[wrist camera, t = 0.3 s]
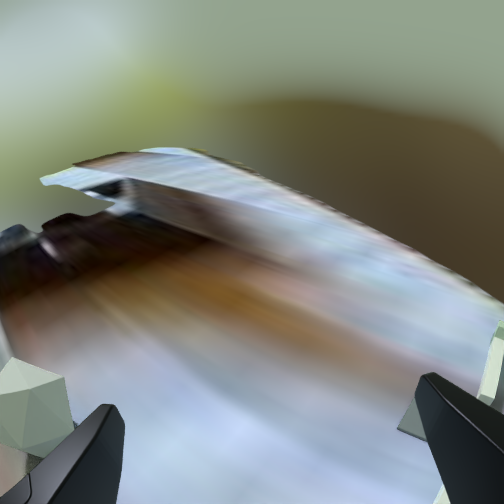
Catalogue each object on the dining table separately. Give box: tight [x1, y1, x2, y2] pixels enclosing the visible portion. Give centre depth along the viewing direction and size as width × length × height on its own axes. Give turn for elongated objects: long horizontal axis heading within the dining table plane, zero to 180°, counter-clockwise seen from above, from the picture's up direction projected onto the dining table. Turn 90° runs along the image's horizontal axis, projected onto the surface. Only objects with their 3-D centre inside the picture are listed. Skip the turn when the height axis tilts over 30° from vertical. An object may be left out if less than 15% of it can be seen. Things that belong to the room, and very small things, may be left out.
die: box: [0, 357, 74, 458], centre depth 20 cm, size 8×9×10 cm
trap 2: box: [397, 397, 427, 441], centre depth 22 cm, size 6×6×1 cm
